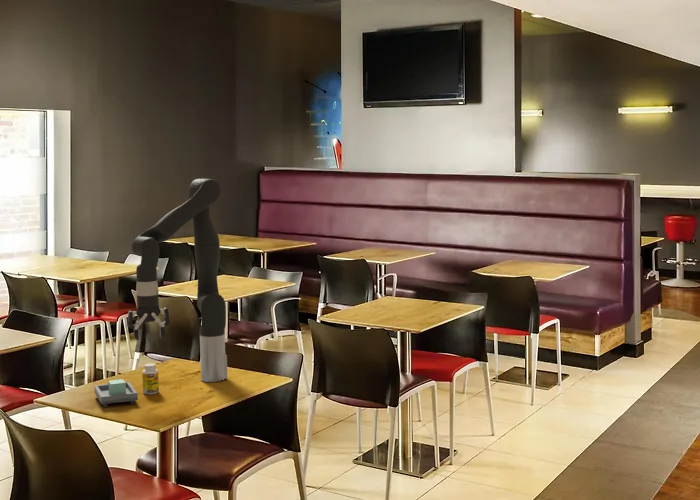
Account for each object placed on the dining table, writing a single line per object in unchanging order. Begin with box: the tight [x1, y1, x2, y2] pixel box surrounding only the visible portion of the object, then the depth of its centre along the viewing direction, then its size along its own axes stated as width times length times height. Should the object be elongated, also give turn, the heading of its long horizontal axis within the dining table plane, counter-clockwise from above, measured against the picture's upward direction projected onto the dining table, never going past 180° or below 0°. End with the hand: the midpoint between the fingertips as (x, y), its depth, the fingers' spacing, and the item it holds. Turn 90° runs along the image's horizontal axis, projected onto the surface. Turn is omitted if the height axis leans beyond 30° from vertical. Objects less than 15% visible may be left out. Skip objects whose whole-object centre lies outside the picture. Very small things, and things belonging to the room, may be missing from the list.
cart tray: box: [93, 381, 139, 408], centre depth 305 cm, size 12×16×4 cm
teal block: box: [107, 378, 127, 395], centre depth 301 cm, size 5×5×5 cm
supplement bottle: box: [142, 363, 160, 395], centre depth 314 cm, size 6×6×10 cm
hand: (149, 338), depth 312 cm, fingers open, 8 cm apart
